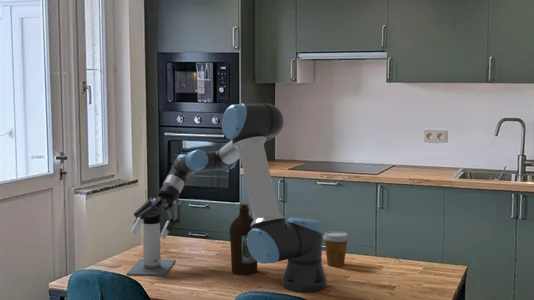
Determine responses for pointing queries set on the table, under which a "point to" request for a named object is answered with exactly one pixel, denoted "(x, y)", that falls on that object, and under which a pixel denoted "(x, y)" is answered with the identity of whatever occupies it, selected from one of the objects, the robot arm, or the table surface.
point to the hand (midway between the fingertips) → (147, 235)
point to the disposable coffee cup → (335, 247)
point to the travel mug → (151, 240)
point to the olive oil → (241, 244)
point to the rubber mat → (160, 271)
